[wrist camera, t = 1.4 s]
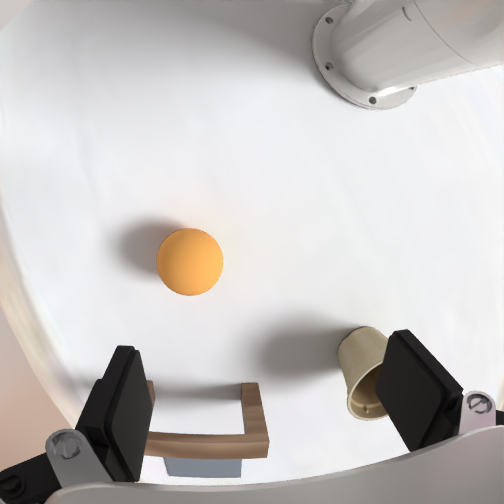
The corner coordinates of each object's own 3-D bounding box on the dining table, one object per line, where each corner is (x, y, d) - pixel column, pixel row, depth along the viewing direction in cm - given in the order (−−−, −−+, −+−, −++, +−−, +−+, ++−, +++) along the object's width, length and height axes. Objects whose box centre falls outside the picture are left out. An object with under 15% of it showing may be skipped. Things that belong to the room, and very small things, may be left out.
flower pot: (335, 387, 38) (357, 432, 30) (313, 337, 35) (337, 384, 27) (396, 354, 38) (428, 392, 29) (383, 301, 35) (421, 337, 26)
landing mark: (158, 433, 37) (158, 434, 37) (242, 435, 39) (242, 436, 39) (169, 475, 41) (169, 475, 41) (240, 476, 42) (240, 477, 42)
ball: (162, 222, 29) (149, 236, 24) (223, 223, 30) (224, 238, 24) (163, 280, 31) (152, 306, 25) (222, 281, 32) (223, 307, 26)
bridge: (136, 379, 34) (120, 436, 25) (257, 382, 36) (269, 441, 27) (140, 396, 35) (126, 453, 26) (256, 399, 37) (266, 457, 28)
